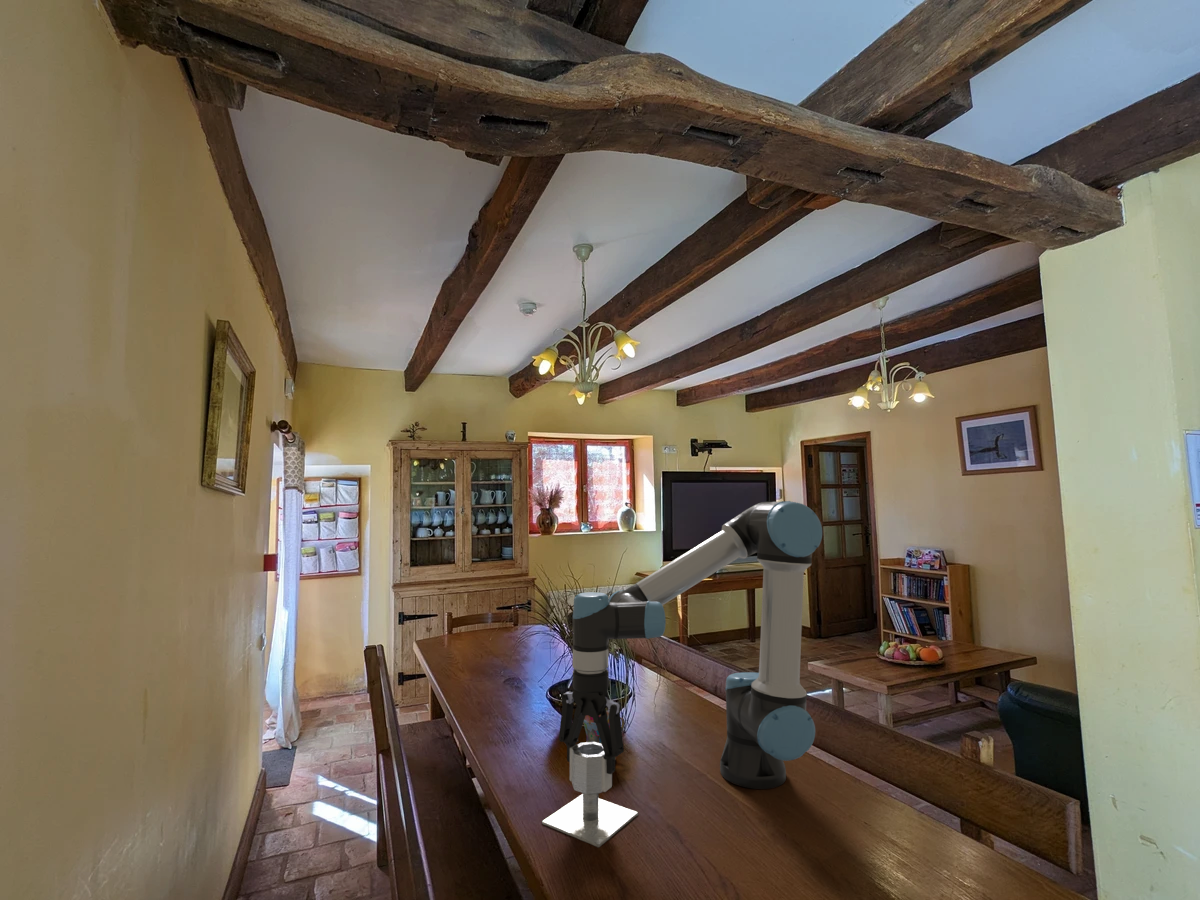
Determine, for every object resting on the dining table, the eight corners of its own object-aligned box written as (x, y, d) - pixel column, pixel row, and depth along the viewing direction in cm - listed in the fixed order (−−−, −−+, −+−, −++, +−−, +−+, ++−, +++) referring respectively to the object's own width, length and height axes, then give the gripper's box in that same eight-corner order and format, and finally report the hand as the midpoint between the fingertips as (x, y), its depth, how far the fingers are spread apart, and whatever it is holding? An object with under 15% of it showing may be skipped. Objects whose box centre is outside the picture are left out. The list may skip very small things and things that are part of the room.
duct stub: (637, 814, 120) (637, 779, 121) (598, 847, 109) (598, 808, 109) (583, 795, 128) (583, 762, 129) (542, 823, 117) (542, 787, 117)
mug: (593, 772, 139) (593, 726, 140) (574, 757, 147) (574, 714, 148) (634, 760, 146) (634, 716, 146) (614, 747, 153) (614, 705, 154)
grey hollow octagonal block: (614, 782, 120) (614, 747, 121) (595, 797, 114) (595, 759, 115) (585, 773, 124) (586, 739, 125) (565, 787, 118) (566, 751, 119)
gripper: (641, 672, 119) (642, 789, 117) (562, 657, 130) (562, 764, 128) (622, 681, 113) (623, 805, 111) (541, 665, 124) (540, 778, 121)
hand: (590, 783), depth 119 cm, fingers closed on grey hollow octagonal block, 7 cm apart
